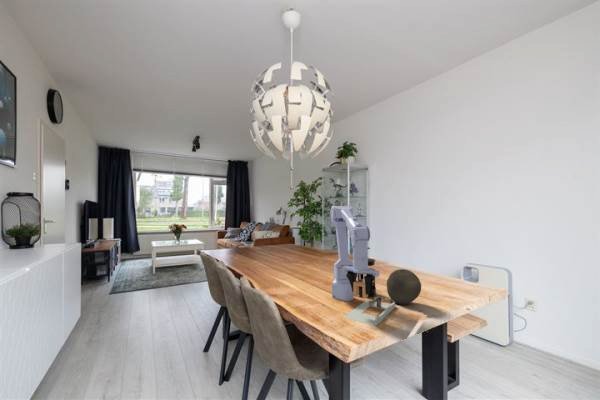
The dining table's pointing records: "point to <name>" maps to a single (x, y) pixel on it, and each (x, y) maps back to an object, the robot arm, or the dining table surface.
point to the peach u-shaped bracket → (356, 288)
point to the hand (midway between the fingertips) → (360, 292)
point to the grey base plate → (367, 318)
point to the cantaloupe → (403, 286)
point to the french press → (373, 288)
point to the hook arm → (377, 299)
